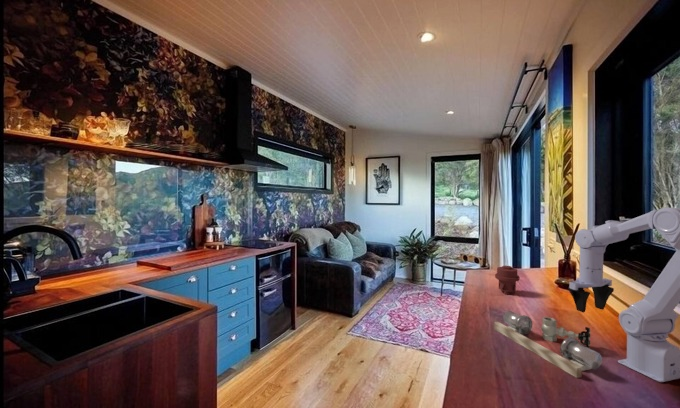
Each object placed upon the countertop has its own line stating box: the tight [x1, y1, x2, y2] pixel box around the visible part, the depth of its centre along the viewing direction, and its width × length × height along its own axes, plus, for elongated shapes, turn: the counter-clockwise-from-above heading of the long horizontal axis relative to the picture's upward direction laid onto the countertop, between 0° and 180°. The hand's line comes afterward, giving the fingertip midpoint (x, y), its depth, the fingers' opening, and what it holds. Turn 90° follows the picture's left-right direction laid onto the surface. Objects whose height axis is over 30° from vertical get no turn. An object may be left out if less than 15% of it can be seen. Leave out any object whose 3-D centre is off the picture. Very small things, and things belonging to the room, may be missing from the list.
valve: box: [541, 316, 591, 349], centre depth 95 cm, size 7×7×12 cm
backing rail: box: [493, 321, 582, 379], centre depth 91 cm, size 29×2×2 cm, turn 13°
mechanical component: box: [494, 265, 521, 295], centre depth 142 cm, size 12×10×10 cm
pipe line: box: [502, 310, 603, 372], centre depth 92 cm, size 29×6×6 cm, turn 13°
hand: (590, 309), depth 96 cm, fingers open, 7 cm apart
